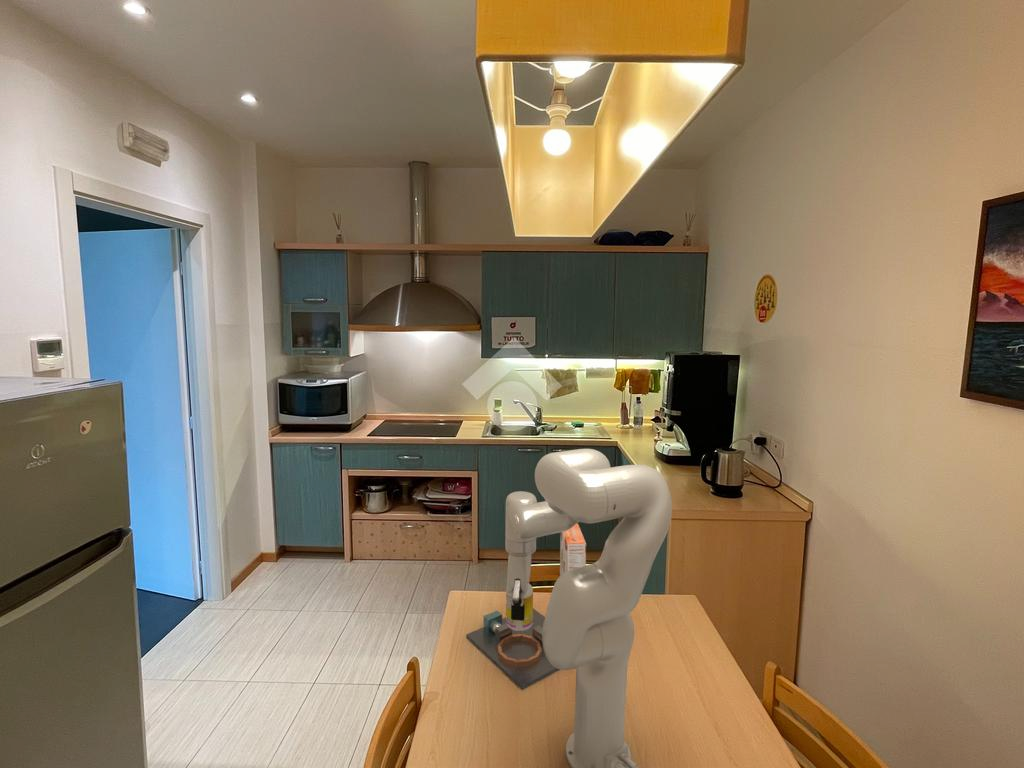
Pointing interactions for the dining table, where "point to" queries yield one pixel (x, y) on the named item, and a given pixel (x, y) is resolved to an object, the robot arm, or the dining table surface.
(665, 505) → the robot arm
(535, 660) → the base
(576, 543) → the cracker box
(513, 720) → the dining table surface
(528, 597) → the supplement bottle
